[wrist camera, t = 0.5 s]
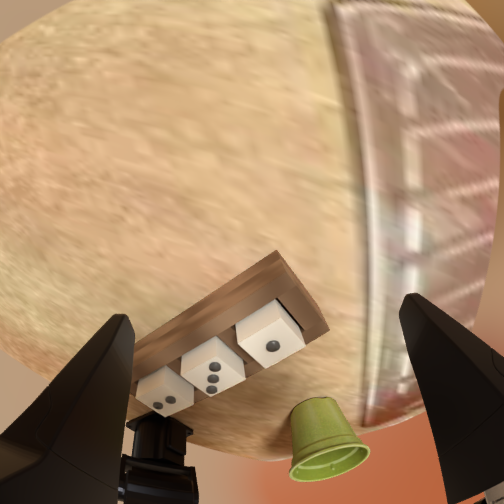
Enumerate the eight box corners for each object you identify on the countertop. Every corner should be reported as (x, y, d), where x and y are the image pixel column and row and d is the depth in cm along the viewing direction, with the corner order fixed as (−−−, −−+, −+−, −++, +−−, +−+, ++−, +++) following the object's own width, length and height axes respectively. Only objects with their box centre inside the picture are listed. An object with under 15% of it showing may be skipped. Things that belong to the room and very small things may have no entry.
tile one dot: (261, 348, 25) (266, 370, 22) (235, 322, 23) (237, 345, 21) (298, 325, 24) (306, 347, 22) (274, 297, 22) (281, 319, 20)
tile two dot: (166, 397, 26) (164, 418, 24) (139, 378, 25) (135, 400, 23) (193, 384, 26) (193, 406, 24) (166, 363, 24) (163, 386, 22)
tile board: (167, 390, 30) (165, 415, 27) (118, 353, 27) (111, 379, 24) (317, 305, 27) (330, 330, 24) (276, 249, 24) (286, 271, 21)
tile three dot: (209, 376, 26) (210, 398, 23) (181, 354, 24) (180, 377, 22) (242, 358, 25) (245, 381, 23) (215, 334, 23) (216, 357, 21)
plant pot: (262, 412, 34) (273, 473, 26) (330, 376, 32) (354, 438, 24) (299, 435, 38) (312, 486, 30) (358, 404, 36) (379, 455, 28)
